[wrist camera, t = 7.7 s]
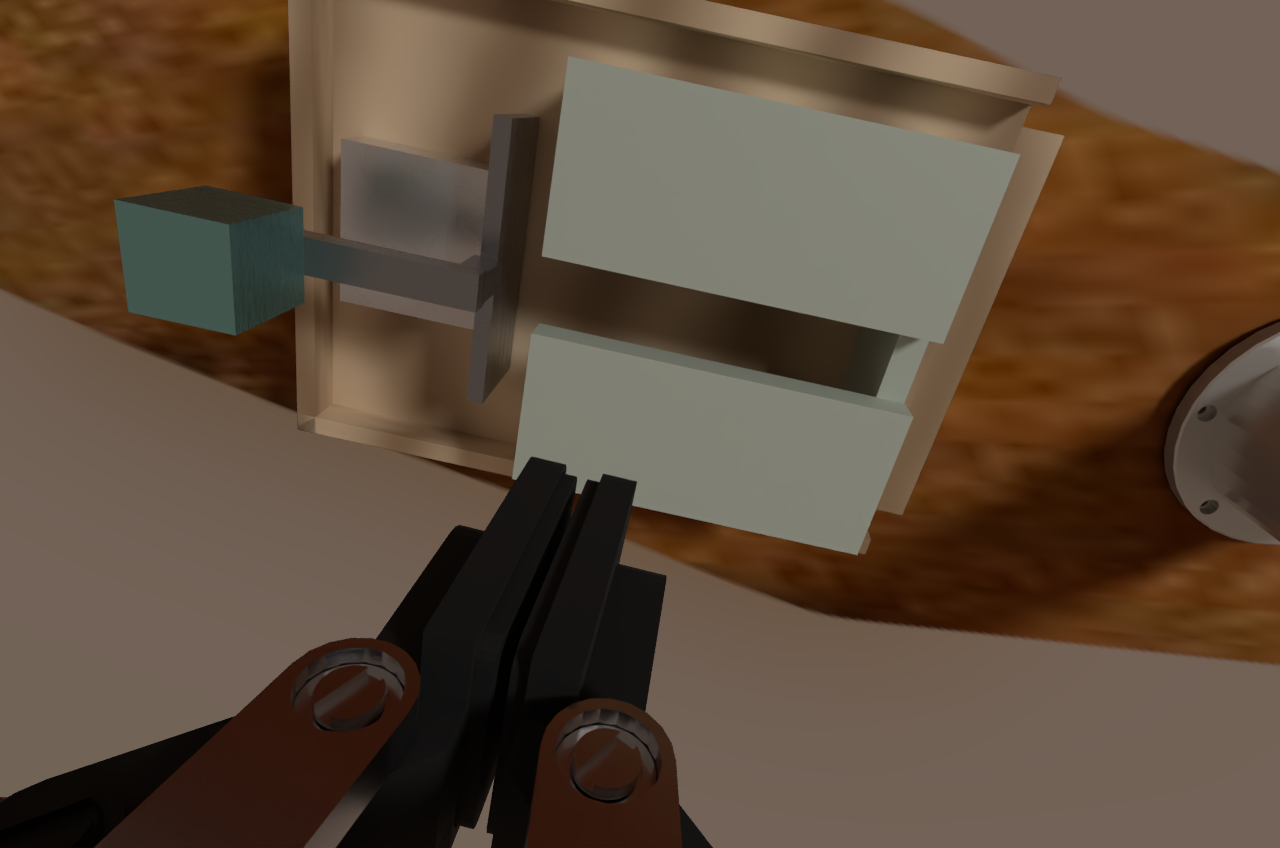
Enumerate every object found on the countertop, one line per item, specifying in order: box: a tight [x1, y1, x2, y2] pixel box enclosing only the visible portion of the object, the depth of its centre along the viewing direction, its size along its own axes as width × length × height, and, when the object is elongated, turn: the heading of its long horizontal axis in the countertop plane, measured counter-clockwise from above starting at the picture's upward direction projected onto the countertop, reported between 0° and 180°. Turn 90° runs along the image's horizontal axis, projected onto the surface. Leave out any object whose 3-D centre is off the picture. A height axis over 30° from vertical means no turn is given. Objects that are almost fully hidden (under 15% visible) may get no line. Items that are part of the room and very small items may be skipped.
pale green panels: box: [512, 56, 1020, 555], centre depth 25 cm, size 13×14×6 cm
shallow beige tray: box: [288, 0, 1064, 554], centre depth 30 cm, size 27×19×8 cm
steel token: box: [340, 136, 489, 330], centre depth 27 cm, size 6×6×2 cm
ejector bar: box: [114, 114, 540, 404], centre depth 23 cm, size 8×10×10 cm
